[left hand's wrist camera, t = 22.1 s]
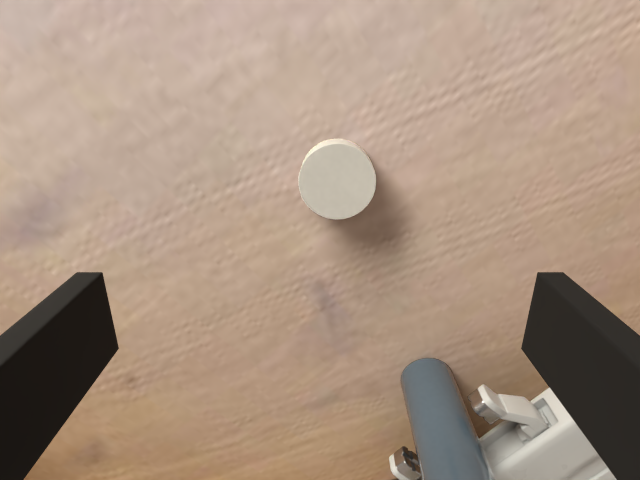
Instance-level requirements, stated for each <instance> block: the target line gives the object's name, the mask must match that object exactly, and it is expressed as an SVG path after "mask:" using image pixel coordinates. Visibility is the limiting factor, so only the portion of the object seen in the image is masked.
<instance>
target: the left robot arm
mask: <svg viewBox="0 0 640 480" xmlns="http://www.w3.org/2000/svg"><path fill="white" fill-rule="evenodd" d="M118 349H119V348H118V343H117V338H116V334H115V329H114V324H113V320H112V315H111V311H110V306H109V301H108V297H107V292H106V287H105V283H104V278H103V273H102V272H77V273H76V274H74V275H73V276H72V277H71V278H70V279H68V280H67V281H66V282H65V283H64V284H62V285H61V286H60V287H59V288H57V289H56V290H55V291H54V292H53V293H51V294H50V295H49V296H48V297H47V298H45V299H44V300H43V301H42V302H41V303H39V304H38V305H37V306H36V307H34V308H33V309H32V310H31V311H30V312H28V313H27V314H26V315H25V316H24V317H22V318H21V319H20V320H19V321H18V322H16V323H15V324H14V325H13V326H11V327H10V328H9V329H8V330H7V331H5V332H4V333H3V334H2V335H1V336H0V480H23V479H24V478H25V477H26V475H27V474H28V472H29V471H30V470H31V468H32V467H33V466H34V464H35V463H36V461H37V460H38V459H39V457H40V456H41V455H42V453H43V452H44V450H45V449H46V448H47V446H48V445H49V444H50V442H51V441H52V439H53V438H54V437H55V435H56V434H57V433H58V431H59V430H60V428H61V427H62V426H63V424H64V423H65V422H66V420H67V419H68V417H69V416H70V415H71V413H72V412H73V411H74V409H75V408H76V406H77V405H78V404H79V402H80V401H81V400H82V398H83V397H84V395H85V394H86V393H87V391H88V390H89V389H90V387H91V386H92V384H93V383H94V382H95V380H96V379H97V378H98V376H99V375H100V373H101V372H102V371H103V369H104V368H105V367H106V365H107V364H108V362H109V361H110V360H111V358H112V357H113V356H114V354H115V353H116V351H117V350H118ZM521 349H522V350H523V352H524V353H525V354H526V356H527V357H528V358H529V360H530V361H531V363H532V364H533V365H534V367H535V368H536V369H537V371H538V372H539V374H540V375H541V376H542V378H543V379H544V380H545V382H546V383H547V385H548V386H549V387H550V389H551V390H552V391H553V393H554V394H555V396H556V397H557V398H558V400H559V401H560V402H561V404H562V405H563V406H564V408H565V409H566V411H567V412H568V413H569V415H570V416H571V417H572V419H573V420H574V422H575V423H576V424H577V426H578V427H579V428H580V430H581V431H582V433H583V434H584V435H585V437H586V438H587V439H588V441H589V442H590V444H591V445H592V446H593V448H594V449H595V450H596V452H597V453H598V455H599V456H600V457H601V459H602V460H603V461H604V463H605V464H606V466H607V467H608V468H609V470H610V471H611V472H612V474H613V475H614V477H615V478H616V479H617V480H640V336H639V335H638V334H637V333H636V332H635V331H633V330H632V329H631V328H630V327H629V326H627V325H626V324H625V323H624V322H622V321H621V320H620V319H619V318H618V317H616V316H615V315H614V314H613V313H612V312H610V311H609V310H608V309H607V308H606V307H604V306H603V305H602V304H601V303H599V302H598V301H597V300H596V299H595V298H593V297H592V296H591V295H590V294H589V293H587V292H586V291H585V290H584V289H583V288H581V287H580V286H579V285H578V284H576V283H575V282H574V281H573V280H572V279H570V278H569V277H568V276H567V275H566V274H564V273H563V272H538V273H537V278H536V283H535V287H534V292H533V297H532V301H531V306H530V310H529V315H528V320H527V324H526V329H525V334H524V338H523V343H522V348H521Z"/></svg>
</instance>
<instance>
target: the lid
mask: <svg viewBox="0 0 640 480" xmlns="http://www.w3.org/2000/svg"><path fill="white" fill-rule="evenodd" d="M298 182H299V190H300V194H301V197H302V199H303V201H304V202H305V204H306V205H307V206H308V207H309V208H310V209H311V210H312V211H313V212H314V213H316V214H318V215H320V216H321V217H324V218H328V219H334V220H341V219H347V218H350V217H353V216H355V215H357V214H358V213H360V212H361V211H362V210H364V209H365V208H366V207H367V205H368V204H369V203H370V201H371V200H372V198H373V195H374V193H375V189H376V173H375V169H374V167H373V165H372V162H371V160H370V158H369V156H368V155H367V153H366V152H365V151H364V150H363V149H362V148H361V147H360V146H359V145H357V144H356V143H354V142H352V141H349V140H345V139H329V140H326V141H323V142H321V143H319V144H317V145H316V146H314V147H313V148H312V149H311V150H310V151H309V152H308V154H307V155H306V157H305V159H304V161H303V163H302V166H301V170H300V173H299V181H298Z"/></svg>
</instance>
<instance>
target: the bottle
mask: <svg viewBox="0 0 640 480" xmlns="http://www.w3.org/2000/svg"><path fill="white" fill-rule="evenodd" d="M401 386H402V391H403V395H404V400H405V404H406V409H407V413H408V418H409V422H410V426H411V431H412V435H413V440H414V444H415V449H416V453H417V458H418V462H419V466H420V471H421V475H422V480H495V477H494V475H493V472H492V470H491V467H490V465H489V462H488V460H487V457H486V455H485V452H484V450H483V447H482V445H481V442H480V440H479V437H478V435H477V433H476V430H475V428H474V425H473V423H472V420H471V418H470V415H469V413H468V410H467V408H466V405H465V403H464V400H463V398H462V395H461V393H460V390H459V388H458V386H457V383H456V381H455V378H454V376H453V373H452V371H451V369H450V368H449V366H448V365H447V364H445V363H444V362H442V361H440V360H438V359H433V358H424V359H419V360H416V361H414V362H412V363H411V364H409V365H408V366H407V367H406V368H405V369H404V371H403V373H402V375H401Z"/></svg>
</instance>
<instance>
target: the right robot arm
mask: <svg viewBox="0 0 640 480" xmlns="http://www.w3.org/2000/svg"><path fill="white" fill-rule="evenodd" d="M468 399H469V401H471V406H472V408H473V410H474V411H475V412H476V414H477V415H479V416H480V417H483V418H484V420H485V421H487V422H488V423H489V424H490V425H491V424H493V423H494V422H495V421H497V420H498V419H503V420H504V421H502V422H501V423H500V424H498V425H497V426H495V427H494V428H493V429H491V430H490V431H489V432H487V433H486V434H484V435H483V436H482V437H480V438H479V440H480V442H481V445H482V447H483V450H484V452H485V455H486V457H487V460H488V462H489V465H490V467H491V470H492V472H493V475H494V477H495V480H617V479H616V478H615V477H614V475H613V474H612V472H611V471H610V470H609V468H608V467H607V466H606V464H605V463H604V461H603V460H602V459H601V457H600V456H599V455H598V453H597V452H596V450H595V449H594V448H593V446H592V445H591V444H590V442H589V441H588V439H587V438H586V437H585V435H584V434H583V433H582V431H581V430H580V428H579V427H578V426H577V424H576V423H575V422H574V420H573V419H572V417H571V416H570V415H569V413H568V412H567V411H566V409H565V408H564V406H563V405H562V404H561V402H560V401H559V400H558V398H557V397H556V396H555V394H554V393H553V391H552V390H551V389H550V387H549V388H547V389H546V390H545V391H543V392H542V393H541V394H539V395H538V396H537V397H535V398H534V399H532V400H531V401H529V400H527V399H526V398H525V397H523V396H514V395H505V394H498V395H497V394H496V393H495V392H494V391H492V390H491V389H490V388H489V387H487V386H486V385H485V384H482V385H481V386H480V387H478V388H477V389H476V390H475V391H474V392H472V393H471V394H470V395H469V396H468ZM389 461H390V467H391V471H392V473H393V475H394V476H395V477H397V478H398V479H399V480H422V475H421V471H420V467H419V466H418V465H419V462H418V458H417V455H416V454H415V453H414V452H412V451H408V448H406V447H405V446H403V447H401V448H400V449H399V450H397V451H396V452H395V453H394V454H392V455H391V456H390V457H389Z"/></svg>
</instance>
